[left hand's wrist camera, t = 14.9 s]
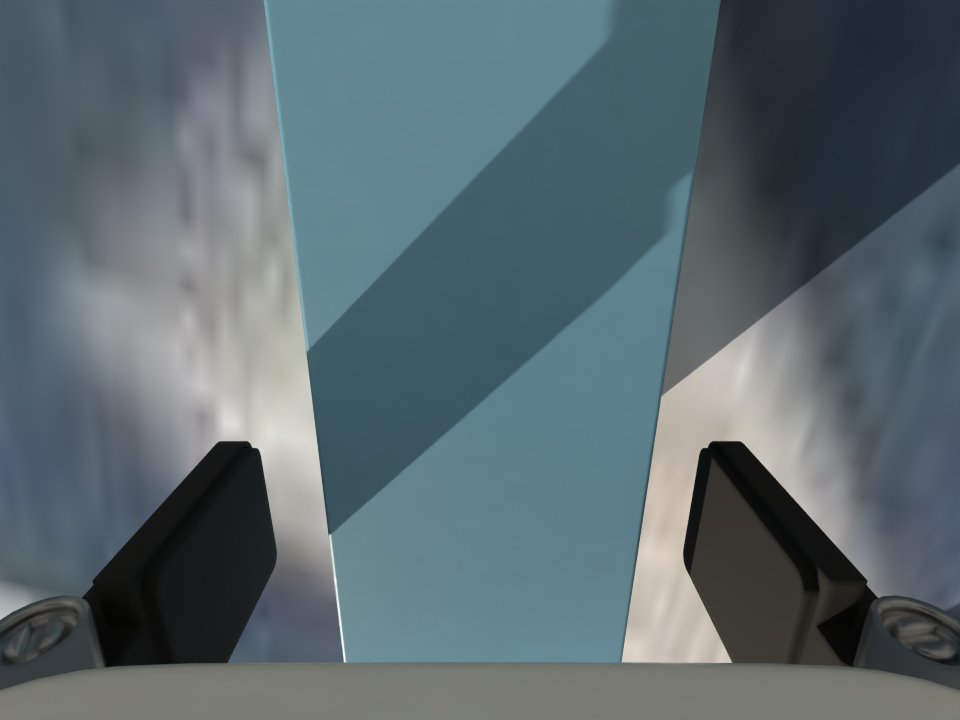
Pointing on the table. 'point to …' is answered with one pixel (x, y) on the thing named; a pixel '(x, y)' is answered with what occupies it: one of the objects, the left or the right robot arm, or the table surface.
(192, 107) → the table surface
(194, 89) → the table surface
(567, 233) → the blue drawer box
